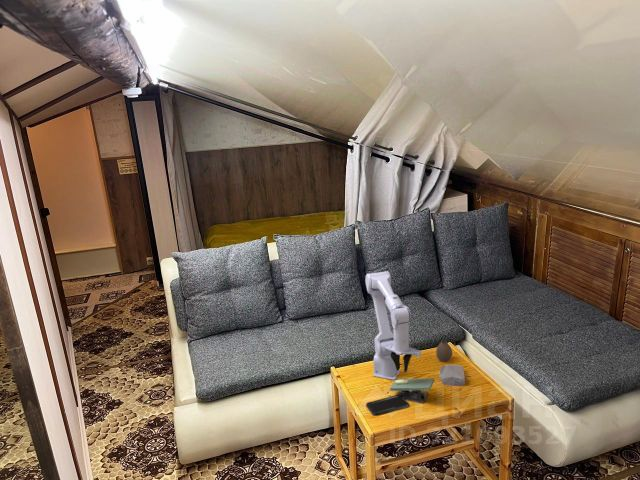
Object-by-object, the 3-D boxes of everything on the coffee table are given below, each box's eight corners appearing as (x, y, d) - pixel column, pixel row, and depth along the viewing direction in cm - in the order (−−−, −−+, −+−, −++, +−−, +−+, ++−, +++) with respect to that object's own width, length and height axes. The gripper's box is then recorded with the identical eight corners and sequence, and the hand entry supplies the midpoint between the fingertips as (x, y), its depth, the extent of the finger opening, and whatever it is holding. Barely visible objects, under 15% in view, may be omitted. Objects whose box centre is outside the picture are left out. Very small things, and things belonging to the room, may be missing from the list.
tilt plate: (391, 392, 179) (388, 384, 179) (396, 383, 185) (394, 375, 185) (430, 392, 171) (428, 383, 170) (435, 382, 177) (433, 374, 176)
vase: (435, 356, 208) (435, 338, 206) (450, 356, 207) (450, 338, 205) (437, 363, 201) (437, 345, 199) (453, 363, 200) (453, 345, 198)
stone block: (441, 389, 185) (467, 386, 183) (439, 379, 184) (464, 375, 182) (440, 375, 196) (463, 371, 194) (437, 365, 196) (461, 361, 193)
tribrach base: (397, 398, 178) (397, 390, 177) (402, 388, 184) (402, 381, 183) (423, 403, 174) (422, 396, 173) (427, 393, 180) (427, 386, 179)
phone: (365, 403, 175) (400, 394, 180) (365, 405, 175) (400, 396, 180) (373, 414, 168) (410, 404, 172) (373, 417, 168) (410, 407, 172)
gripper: (379, 339, 175) (380, 371, 178) (417, 345, 168) (417, 378, 171) (385, 331, 181) (386, 363, 184) (422, 337, 174) (422, 369, 177)
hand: (402, 370), depth 178 cm, fingers closed
